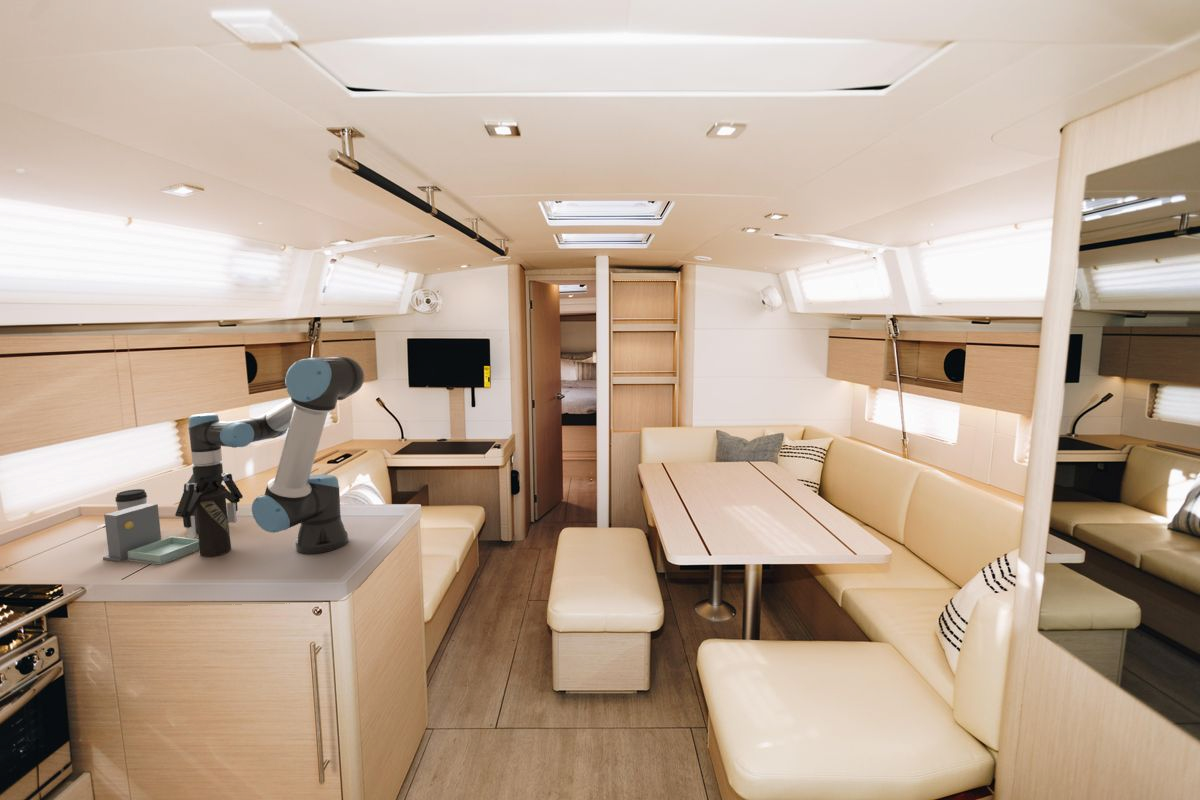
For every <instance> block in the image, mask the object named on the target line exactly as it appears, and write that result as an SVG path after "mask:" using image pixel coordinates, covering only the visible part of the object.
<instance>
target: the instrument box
mask: <svg viewBox="0 0 1200 800" xmlns="http://www.w3.org/2000/svg"><path fill="white" fill-rule="evenodd" d="M159 512H160V511H159V505H158V503H149V502H147V503H145V504H141V505H137V506H134V507H130V508H126V509H123V510H119V511H118V510H116V511H113V512H109V513H106V514H104V525H105V531H106V542H107V551H108V555H105V556H103V557H102V559H103V560H105V561H109V562H110V561H112V562H124V561H126V560H128V551H131V550H134V549H136V548H139V547H142V546H145V545H148V544H151V543H154V542H157V541H160V540H162V533H161V523H160V516H159Z"/></svg>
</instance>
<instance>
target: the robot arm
mask: <svg viewBox="0 0 1200 800" xmlns="http://www.w3.org/2000/svg"><path fill="white" fill-rule="evenodd" d="M284 381H285V382H284V384H285V387H287V388H286V391H287V393H288V395H289V396H290V398H289V399H287V400H286V401H283V402H282V403H281V404H279V405H277V406H275V407H274V408H272V409H271V410H270V411H268V412H266V413H264V414H263V415H261V416H256V417H252V418H251V417H250V418H246V419H238V420H232V421H220V418H219V415H218V414H217V413H208V412H207V413H198V414H192V415H190V416H189V418H188V428H187V429H188V434H189V443H190V452H191V453H190V454H191V462H192V464H193V465H192V474H193V476H194V478H195V482H194V483H191V484H189V483H188V482H186V483H185V482H184V485H183V493H182V496H181V498H180V499H179V500H180V501H179V503H178V506H177V509H176V511H175V514H174V516H175V517H179V518H182V522H183V527H184V528H185V529H186V530H185V531H186V538H192V539H196V538H197V533H196V528H195V517H194V516H192V514H193V512H194V511H195V509H196V507H197V506H198V504H199V502H200V501H201V500H200V497H201V496H203V495H206V493H208V492H211V491H215V490H218V489H221V490H226V491H227V492H228V494H227V496H226V501H228V502H226V506H227V515H228V523H231V524H232V523H233V524H236V523H237V522H238V520H237V519H238V518H237V512H238V503H240V502H241V499H243V494H242V492H241V491H240V489H239V488H238V486H237V484H236V483H235V481H234V480H233V475H232V474H231V473H223V472H224V470H223V462H222V461H223V455H222V447H229V448H244V447H248V445H250V444H251V443H254V442H255V443H256V442H259V441H264V440H270V439H276V438H278V437H282V436H283V435H285V434H286V436H285V440H284V444H283V447H282V452H281V456H280V458H279V462H278V466H277V470H276V473H275V476H274V478H272V479H270V480H269V481H268V482H267V485H266V488H265V493H264V494H260V495H259V496H258V497H256V498H255V499H254V500H253V502H252V503H251V514H252V516H253V519H254V520H255V523H256V524H257V525H258V526H259V527H260V529H262V530H264V531H265V532H268V533H272V534H274V533H279V532H282V531H287V530H288V529H290V528H292V527H295V526H297V525H299V528H298V529H299V531H298V533H297V538H296V541H295V548H296V551H297V552H298V553H300V554H320V553H327V552H330V551H334V550H337V549H340V548H342V547H343V546H345V545H347V544H348V543H349V534H348V532H347V530H346V529H345V526H344V523H343V521H342V515H341V497H340V485H339V484H340V483H339V479H338V477H337V476H335V475H331V474H311V473H312V469H313V465H314V462H315V458H316V456H317V451H318V448H319V444H320V442H321V441H320V440H321V437H322V434H323V431H324V426H325V424H326V421H327V420H326V419H327V417H328V413H329V412H331V411H334V410H335V408H336V406H337V403H338V401H342V400H345V399H347V398H349V397H350V396H352V395H354V394H355V393H357V392H358V391H360V390H361V388H362V387H363V384H364V382H365V373H364V370H363V367H362V366H361V365H360V363H358V362H357V361H356V360H355V359H352V358H350V357H347V356H331V357H326V356H325V357H319V356H317V357H316V356H315V357H314V356H312V357H308V358H303V359H300V360H298V361H295V362H294V363H292V365H290V367H289V368H288V370H287V372H286V375H285V380H284ZM194 464H195V465H194ZM223 482H224V484H225V485H224V484H223ZM225 486H226V487H227V488H226V487H225ZM195 487H196V488H195ZM195 489H196V490H195ZM194 490H195V491H194ZM199 492H201V493H199ZM192 496H193V497H192Z"/></svg>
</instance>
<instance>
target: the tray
mask: <svg viewBox="0 0 1200 800" xmlns="http://www.w3.org/2000/svg"><path fill="white" fill-rule="evenodd" d="M197 551H199V538H192V537H181V536H172V535H171V536H168V537H166V538H163V539H162V538H161V540H160V541H157V542H154V543H151V544H148V545H145V546H142V547H139V548H136V549H134V550H131V551H128V559H127V561H131V562H137V563H138V562H139V563H146V564H152V565H153V564H154V565H161V566H162V565H164V564H166V563H169V562H171V561H174V560H177V559H180V558H182V557H185V556H187V555H190V554H192V553H194V552H197Z"/></svg>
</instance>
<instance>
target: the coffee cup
mask: <svg viewBox="0 0 1200 800" xmlns="http://www.w3.org/2000/svg"><path fill="white" fill-rule="evenodd" d="M147 497H148V495H147V492H146V491H145V489H142V488H141V489H140V488H138V489H127V490H123V491H120V492H117V493H116V496H115V500H114V501H115V502H116V508H117V511H119V510H123V509H126V508H130V507H134V506H137V505H141V504H145V503H148V502H147Z"/></svg>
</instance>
